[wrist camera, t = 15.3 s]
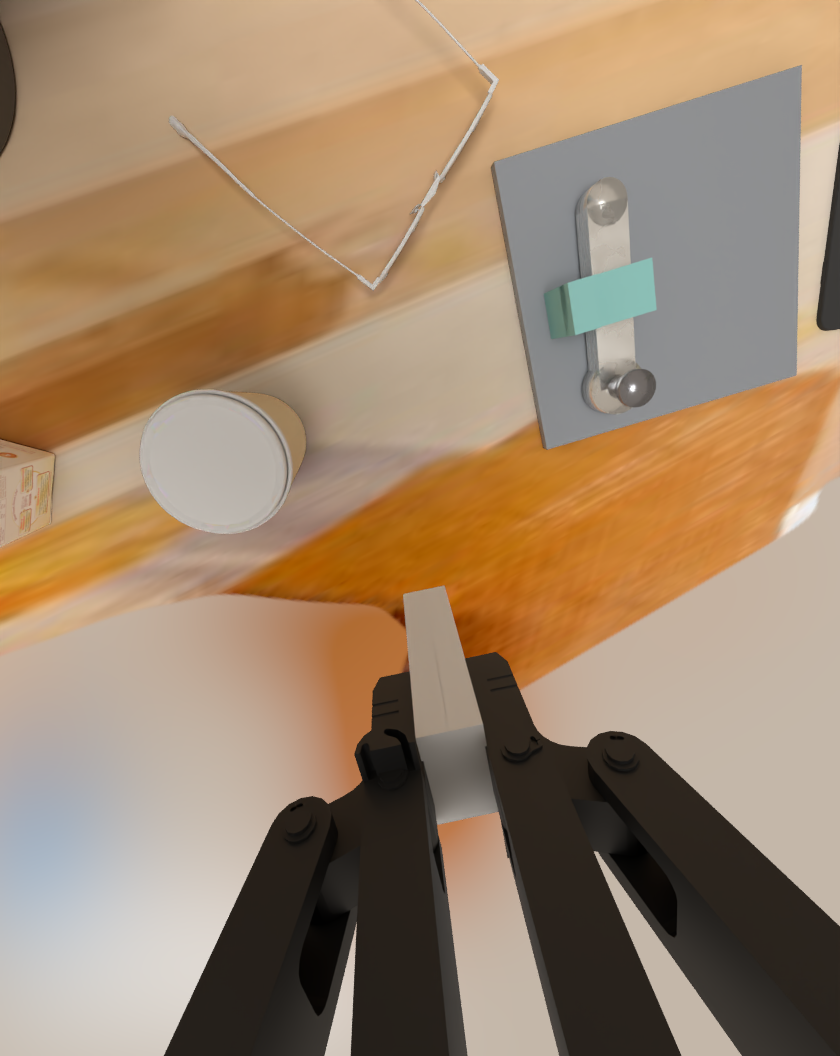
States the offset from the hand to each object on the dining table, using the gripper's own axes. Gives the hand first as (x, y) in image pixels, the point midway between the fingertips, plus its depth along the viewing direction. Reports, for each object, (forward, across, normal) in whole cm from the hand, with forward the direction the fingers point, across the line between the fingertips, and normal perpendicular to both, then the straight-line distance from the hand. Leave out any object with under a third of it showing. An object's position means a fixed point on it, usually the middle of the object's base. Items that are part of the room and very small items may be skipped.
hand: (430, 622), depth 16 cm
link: (+25, +19, +10) cm, 33 cm away
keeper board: (+26, +24, +11) cm, 37 cm away
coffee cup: (+27, -12, +5) cm, 29 cm away
